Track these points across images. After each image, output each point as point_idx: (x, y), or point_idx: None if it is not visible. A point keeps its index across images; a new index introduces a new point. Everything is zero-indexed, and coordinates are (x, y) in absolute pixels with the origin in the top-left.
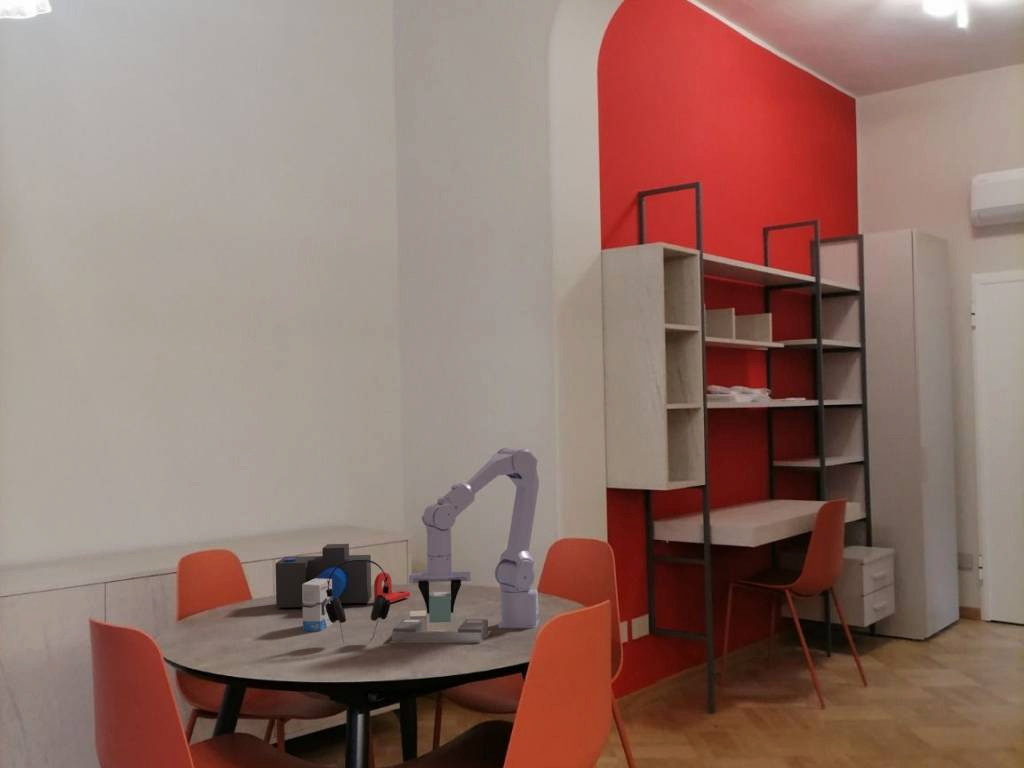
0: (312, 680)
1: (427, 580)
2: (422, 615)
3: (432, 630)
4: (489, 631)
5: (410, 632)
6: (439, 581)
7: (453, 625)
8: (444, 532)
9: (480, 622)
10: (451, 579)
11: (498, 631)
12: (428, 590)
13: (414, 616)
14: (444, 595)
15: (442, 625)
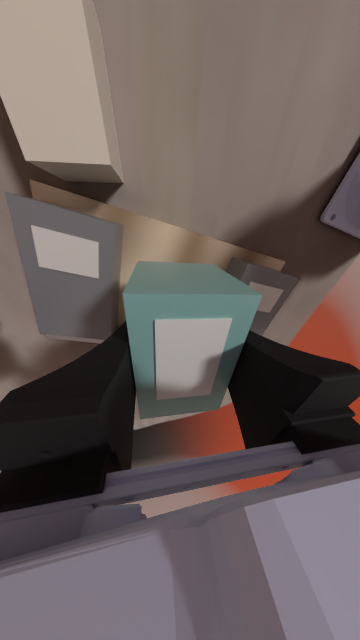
0: None
1: (104, 501)
2: (89, 154)
3: (144, 217)
4: (280, 266)
5: (100, 342)
6: (204, 466)
7: (221, 90)
8: None
9: (268, 310)
10: (292, 466)
11: (305, 242)
12: (131, 440)
13: (50, 162)
14: (205, 383)
15: (178, 67)
